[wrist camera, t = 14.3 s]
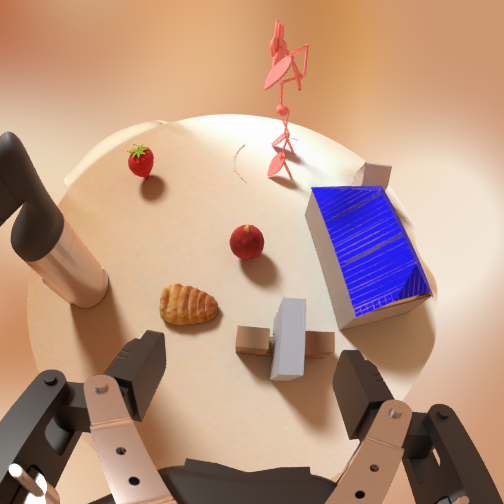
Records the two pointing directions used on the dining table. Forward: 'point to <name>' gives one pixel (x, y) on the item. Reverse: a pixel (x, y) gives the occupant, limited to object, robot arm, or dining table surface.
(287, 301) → the grey notched square slab
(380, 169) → the grey house-shaped block
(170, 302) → the pastry
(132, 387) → the robot arm
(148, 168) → the strawberry
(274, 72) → the figurine
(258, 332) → the walnut blocks
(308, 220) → the house
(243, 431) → the dining table surface
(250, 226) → the onion
